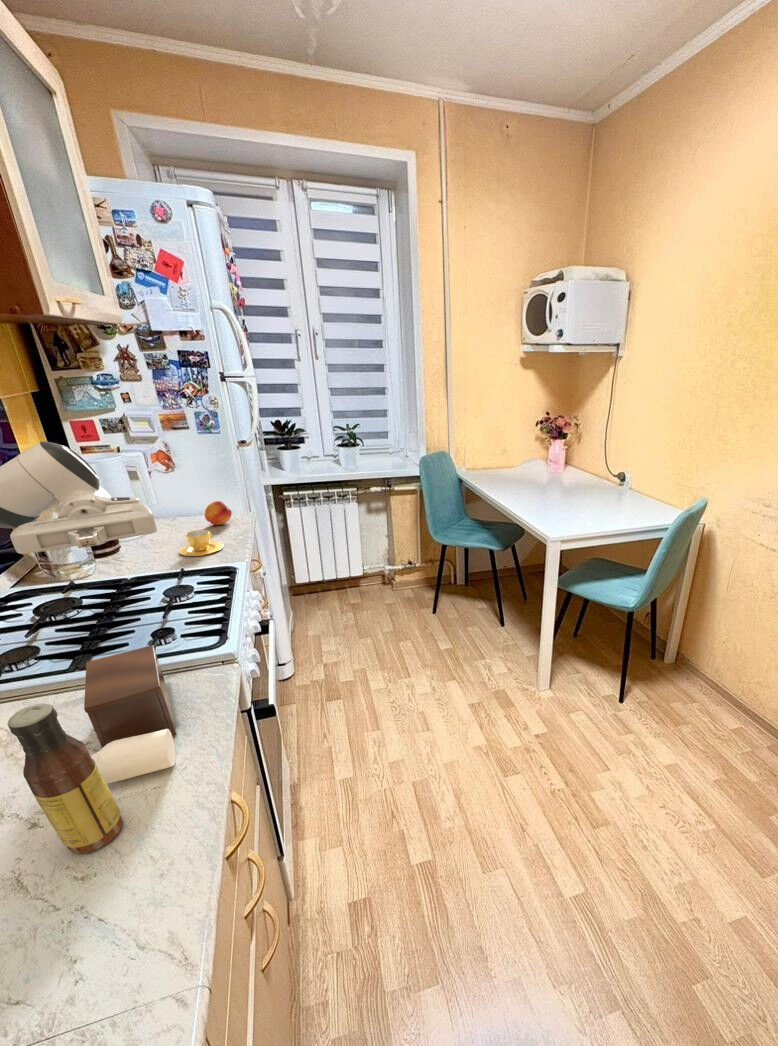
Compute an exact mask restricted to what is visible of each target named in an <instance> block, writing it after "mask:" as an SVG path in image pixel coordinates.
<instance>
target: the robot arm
mask: <svg viewBox="0 0 778 1046" xmlns="http://www.w3.org/2000/svg"><path fill="white" fill-rule="evenodd" d="M59 503H60V506H59V510H58V515H57V518H56V517H55V518H50V519H43V520H42V519H41V520H37V519H38V518H39V517H40V516H41V515H42V514H44V513H45V512H46V511H48V510H50V509H51V508H53V507H55V506H56V505H58V504H59ZM1 528H2V529H13V530H12V531H11V533H10V534H9V537H10V539H11V543H12V545H13V547H14V549H15V551H16V553H17V554H21V555H30V554H36V553H42V552H47V551H53V550H60V549H65V548H72V547H77V548H78V549H84V548H89V547H95V546H101V545H104V544H106V543H108V542H109V541H116V540H121V539H126V538H127V539H128V538H134V537H139V536H146V535H151V534H155V533H157V531H158V528H157V525H156V522H155V518H154V514H153V512H152V511H151V509H150V508H149V507H148V506H147V505H146V504H144V503H141V501H140V499H139V498H138V497H136V496H123V497H121V496H120V497H118V496H117V497H116V496H115V497H113V496H112V495H111V494H110V493H109V492H108V491H107V490H106V489H105V488H103V486H101V485H100V477H99V476H98V473H96V471H95V469H94V468H93V467H92V466H91V465H90V464H89V463H88V462H87V461H86V460H85V459H84V458H83V457H82V456H81V455H79V454H78V453H76V452H75V451H74V450H72V449H71V448H70V447H68V446H66V445H62V444H59V443H56V442H50V441H39V442H38V443H36V444H34V445H32V446H31V447H29V448H27V449H26V450H24V451H22V452H21V453H19V454H18V455H16V456H15V457H13V458H12V459H10V460H9V461H7V462H5V463H4V464H2V465H0V529H1Z"/></svg>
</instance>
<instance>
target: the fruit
mask: <svg viewBox="0 0 778 1046" xmlns="http://www.w3.org/2000/svg"><path fill="white" fill-rule="evenodd" d="M232 515H233V512H232V510H231V509H230V508H229V507H228V506H227V505H226V504H225V503H224V502H223V501H221V500H215V501H213V502H210V503H209V504H208V505H207V506H206V508H205V510H204V518H205V520H206V521H207V522H209V523H210V524H211V525H214V526H220V525H224V524H225V523H227V522H229V521H230V519H231V518H232Z"/></svg>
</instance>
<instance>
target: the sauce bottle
mask: <svg viewBox="0 0 778 1046" xmlns="http://www.w3.org/2000/svg"><path fill="white" fill-rule="evenodd" d="M58 715H59V714H58V712H57V710H56V709H55V707H54V706H53V705H52V704H50V703H45V702H43V703H36V704H33V705H29V706H26V707H24V708H21V709H19V710H18V711H16V712H15V713H14V714H12V716H11V717H9V719H8V721H7V726H8V728H9V731H10V732H11V734H12V735H13V736H15V737H16V738H17V740H18V741H19V744H20V745H21V747H22V750H23V753H24V766H23V772H22V774H23V777H24V779H25V782H26V783H27V785H28V787H29V789H30V791H31V793H32V795H33V796H34V798H35V800H36V802H37V803H38V805H39V807H40V808H41V810H42V812H43V813H44V815H45V816H46V818H47V820H48V821H49V824H51V826H52V828H53V829H54V830H55V832H56V834H57V836H58V837H59V839H60V841H61V842H62V844H63V845H64V846H66V848H67V850H69V851H71V852H73V853H75V854H89V853H92V852H94V851H97V850H98V849H100V848H102V847H104V846H106V845H107V844H109V843H111V842H112V841H113V840H114V838H116V837H117V836H118V835H119V833H120V831H121V830H122V828H123V825H124V821H123V820H124V819H123V816H122V814H121V810H120V808H119V805H118V804H117V802H116V800H115V798H114V796H113V794H112V792H111V789H110V788H109V786H108V783H106V782H105V780H104V778H103V776H102V774H101V772H100V771H99V769H98V767H97V765H96V763H95V761H94V759H92V757H91V756H92V755H91V754H90V752H89V750H88V748H87V746H86V744H85V743H84V742H83V741H82V740H79V739H77V738H75V737H73V736H71V735H69V734H67V733H66V731H65V730H64V729H63V727H62V726H61V723H60V722H59V720H58Z"/></svg>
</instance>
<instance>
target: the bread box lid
mask: <svg viewBox="0 0 778 1046" xmlns="http://www.w3.org/2000/svg"><path fill="white" fill-rule="evenodd" d="M155 652H156V649H155V646H154V645H153V644H151V645H148V646H143V647H140V648H136V649H131V650H127V651H123V652H121V653H116V654H112V655H108V656H104V657H101V658H97V659H93V660H89V661H86V663H85V665H86V666H85V681H84V682H85V685H84V700H83V701H84V703H83V709H84V712H85V713H86V714H87V712H91V711H94V710H98V709H101V708H104V707H108V706H111V705H114V704H118V703H121V702H125V701H128V700H131V699H135V698H138V697H141V696H145V695H148V694H152V693H155V692H158V691H161V685H160V679H159V674H158V668H157V662H156V656H157V655H156V656H155Z"/></svg>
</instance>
